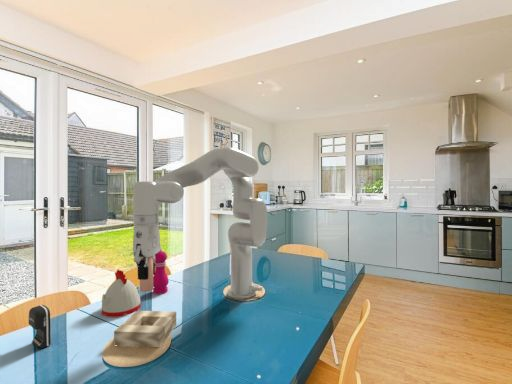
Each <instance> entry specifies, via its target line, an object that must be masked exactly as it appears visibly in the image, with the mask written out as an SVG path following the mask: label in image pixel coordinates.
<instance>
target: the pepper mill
mask: <svg viewBox="0 0 512 384" xmlns="http://www.w3.org/2000/svg"><path fill="white" fill-rule="evenodd" d="M167 258H168V255H167V252H165V251H163V249H162V247H160V251H159V252H158V253H157V254H156V256H155V274H154V275H153V290H152V294H154V295H163V294H166V293H168V291H169V289H168V284H169V277H168V276H169V275H167V273H166V265H167V264H166V262H167V261H166V260H167Z"/></svg>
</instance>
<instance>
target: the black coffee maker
mask: <svg viewBox="0 0 512 384" xmlns="http://www.w3.org/2000/svg"><path fill="white" fill-rule="evenodd" d="M28 311H29V312H28V324H29V326H30V327H32V328H33V329H34V330H35V334H34V335H35V336H34V337H33V339H32V341H31V343H32V345H33V346H34V347H35V348H37V349H44V348H46V346H47V347H49V346H51V345H52V342H51V340H52V339H51V311H50V308H49V307H47V306H46V305H44V304H39V305H36V306H33V307H32V308H30V309H29V310H28Z"/></svg>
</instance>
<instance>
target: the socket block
mask: <svg viewBox="0 0 512 384" xmlns="http://www.w3.org/2000/svg"><path fill="white" fill-rule="evenodd" d="M176 326H177V311H169V310H168V311H166V310H165V311H160V310H137V311H135V312H133V313H132V315H130V316H129V317H128V318H127V319H126V320H125V321H123V323H121V324H120V325H119V326H118V327H117V328H115V330H114V331H113V346H114V345H117V346H116V347H126V346H135V347H134V348H150V347H160V346H161V347H162V346H163V344H164V343H165V341H166V340H167V338H168V337H169V336H170V335H171V333H172V332H173V330H174V329H175V328H176ZM165 339H166V340H165ZM136 346H138V347H136ZM161 347H160V348H161Z"/></svg>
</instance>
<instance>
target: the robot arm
mask: <svg viewBox="0 0 512 384" xmlns="http://www.w3.org/2000/svg"><path fill="white" fill-rule="evenodd" d="M222 170H223V173H224V174H225V175H226V176H227V177H228V178H229V180H230V182H231V184H232V187H233V194H232V195H233V198H232V214H233V216H234V218H236V219H238V220H245V221H249V222H243V221H242V222H241V221H240V222H239V221H237V222H234V223H232V224H231V225H230V226H229V228H228V230H227V237H228V242H229V243H228V244H229V248H230V288H229V289H228V290H227V296H228V297H230V298H232V299H236V300H237V299H238V300H244V299H245V298H246V299H250V298H252V296H253V297H254V296H256V293H257V291H258V292H262V291H263V286H261V284H255V283H254V281H253V252H252V249H251V247H252V248H259V247H261V246H262V245H263V244H265V242H266V239H267V226H268V208H267V205H266V203H265V201H264V200H262V199H261V198H258V197H256V198H254V197H253V196H254V195H253V194H254V193H253V192H254V191H253V189H254V188H253V183H252V181H251V179H250V178H251V177H254V176H255V175H257V174H258V171H259V163H258V160H257V158H255V157H254V156H253V155H250V154H249V153H246V152H244V151H241V150H239V149H237V148H234V147H229V146H228V147H218V148H214V149H211V150H209V151H208V152H205V153H204V154H203V155H201V156H199V157H197V158H196V159H194V160H193V161H191V162H189V163H187V164H185V165H183V166H180V167H178V168H175V169H174V170H172V171H170V172H167V173H165V174H164V175H161V176H160V177H158V178H156V179H155V180H153V181H144V180H143V181H142V180H141V181H135V182H134V183H133V185H132V207H133V209H132V212H133V218H132V221H133V223H132V224H133V226H134V228H133V235H132V236H133V239H132V254H133V257H134V258H133V262H134V263H136V268H137V280H139V281H140V280H147V279H148V267H147V260H148V258H149V257H151V256H153V276H154V274H155V256H156V254H157V253H158V252H159V251H160V248H161V234H160V226H159V223H160V221H159V203H160V204H161V203H162V204H176V203H178V202H179V201H181V200H182V199H183V196H184V195H185V193H184V191H185V190H184V188H186V187H191V186H196V185H199V184H203V182H205V181H207V180H209V179H210V178H211V177H212V176H214V175H215V174H216V173H218V172H219V171H222ZM141 255H143V256H144V257H141ZM141 259H144V261H143V260H141ZM246 299H245V300H246Z"/></svg>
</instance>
